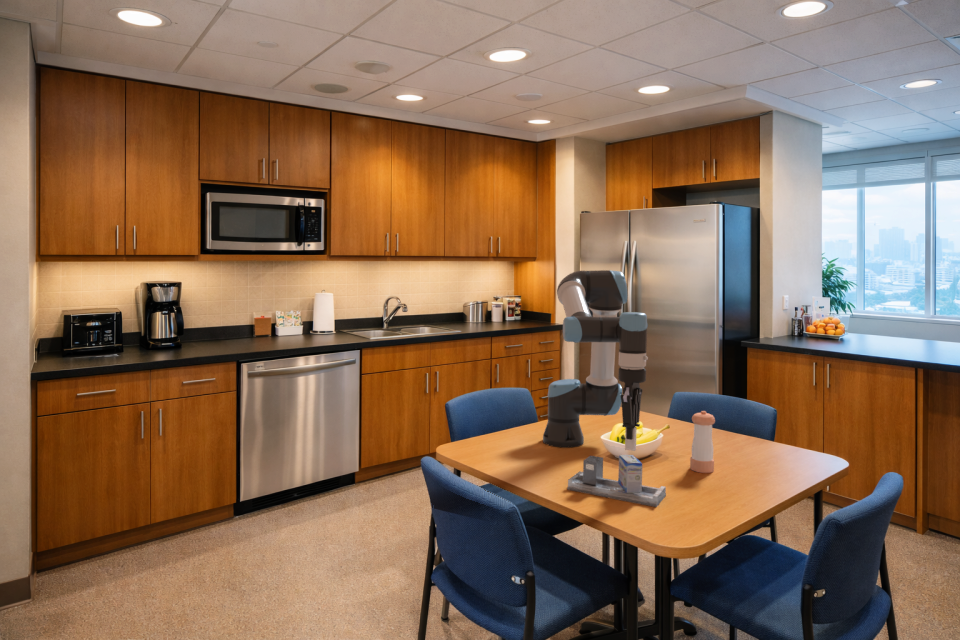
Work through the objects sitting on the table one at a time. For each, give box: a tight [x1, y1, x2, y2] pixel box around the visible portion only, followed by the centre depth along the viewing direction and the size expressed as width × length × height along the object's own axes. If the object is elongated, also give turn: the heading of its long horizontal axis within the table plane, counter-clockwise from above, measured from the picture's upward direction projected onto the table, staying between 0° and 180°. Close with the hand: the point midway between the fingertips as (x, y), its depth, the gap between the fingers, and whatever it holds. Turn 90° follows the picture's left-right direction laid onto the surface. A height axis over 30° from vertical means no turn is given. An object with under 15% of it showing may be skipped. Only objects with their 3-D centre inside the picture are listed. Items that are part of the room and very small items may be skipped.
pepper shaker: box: [689, 410, 716, 474], centre depth 198 cm, size 7×7×19 cm
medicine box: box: [617, 454, 643, 493], centre depth 175 cm, size 8×4×9 cm, turn 5°
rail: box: [566, 455, 667, 508], centre depth 177 cm, size 26×10×9 cm, turn 59°
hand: (630, 449), depth 174 cm, fingers closed
